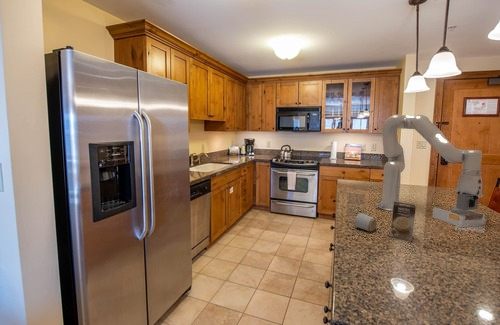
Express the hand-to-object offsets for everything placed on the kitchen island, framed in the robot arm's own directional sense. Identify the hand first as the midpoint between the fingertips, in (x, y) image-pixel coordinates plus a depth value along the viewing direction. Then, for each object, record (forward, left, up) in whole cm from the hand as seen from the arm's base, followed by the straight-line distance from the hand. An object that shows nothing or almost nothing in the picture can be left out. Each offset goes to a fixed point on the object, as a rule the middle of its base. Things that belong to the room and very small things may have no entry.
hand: (466, 205), depth 142 cm
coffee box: (-50, -6, -10) cm, 52 cm away
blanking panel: (0, 0, -2) cm, 2 cm away
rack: (0, +4, -10) cm, 11 cm away
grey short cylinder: (-59, +7, -10) cm, 61 cm away
